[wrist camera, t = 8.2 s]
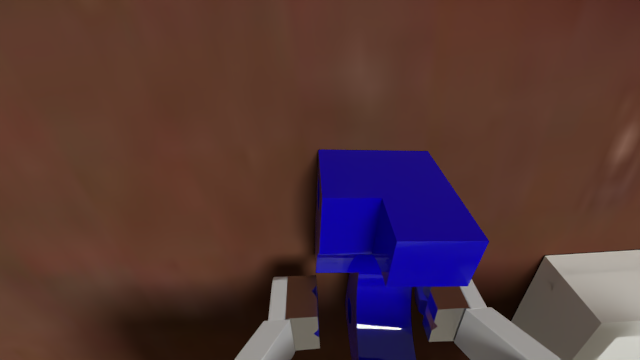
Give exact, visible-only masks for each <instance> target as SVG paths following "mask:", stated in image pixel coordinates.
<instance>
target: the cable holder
mask: <svg viewBox="0 0 640 360" xmlns="http://www.w3.org/2000/svg"><path fill="white" fill-rule="evenodd" d="M488 243H489V240H488V239H487V238H486V236H485V235H484V233H483V232H482V230H481V229H480V227H479V226H478V224H477V223H476V221H475V220H474V218H473V217H472V215H471V214H470V213H469V211H468V210H467V208H466V207H465V205H464V204H463V202H462V201H461V199H460V198H459V196H458V195H457V193H456V192H455V190H454V189H453V188H452V186H451V185H450V183H449V182H448V180H447V179H446V177H445V176H444V174H443V173H442V171H441V170H440V168H439V167H438V166H437V164H436V163H435V161H434V160H433V158H432V157H431V155H430V154H429V152H428V151H378V150H319V151H318V175H317V200H316V224H315V260H316V273H349V278H348V285H347V292H346V300H345V309H346V318H347V326H348V334H349V342H350V351H351V359H352V360H416V356H415V350H414V343H413V335H412V324H411V294H412V287H446V286H468V285H469V283H470V281H471V279H472V276H473V274H474V272H475V270H476V268H477V266H478V264H479V262H480V260H481V257H482V255H483V253H484V251H485V249H486V247H487V245H488Z"/></svg>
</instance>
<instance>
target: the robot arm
mask: <svg viewBox="0 0 640 360" xmlns="http://www.w3.org/2000/svg"><path fill="white" fill-rule="evenodd" d="M414 292H415V301H416V305H417V308H418V311H419V312H420V313H421V314H422V315H423V316H424V318H423V322H422V324H423V326H424V329H425V332H426V335H427V338H428V341H429V342H437V341H454V343H455V344H456V345H457V346H458V347H459V348H460V349H461V350H462V351H463V352H464V354H465V355H466V356H467V357H468V358H469V359H470V360H562V359H560V358H559V357H558V356H556V355H555V354H554V353H552V352H551V351H550V350H548V349H547V348H546V347H544V346H543V345H542V344H540V343H539V342H538V341H536V340H535V339H534V338H532V337H531V336H529V335H528V334H527V333H525V332H524V331H523V330H521V329H520V328H519V327H517V326H516V325H515V324H513V323H512V322H511V321H509V320H508V319H507V318H505V317H504V316H503V315H501V314H500V313H499V312H497V311H496V310H494V309H493V308H492V307H487V306H486V304H485V303H484V301H483V299H482V297H481V295H480V294H479V292H478V290H477V288H476V286H475V284H474V283H473V281H472V279H471V281H470V283H469V285H468V286H446V287H415V290H414ZM318 317H319V309H318V290H317V278H316V275H311V276H283V277H274V278H273V281H272V288H271V297H270V306H269V316H268V321H263V322H262V324H261V325H260V326H259V328H258V329H257V330H256V332H255V333H254V334H253V335H252V337H251V338H250V339H249V341H248V342H247V343H246V345H245V346H244V347H243V349H242V350H241V351H240V352H239V354H238V355H237V356H236V358H235V359H234V360H291V359H292V357H293V355H294V354H295V351H296V350H307V349H318V348H320V335H319V318H318Z"/></svg>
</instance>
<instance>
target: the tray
mask: <svg viewBox="0 0 640 360" xmlns="http://www.w3.org/2000/svg"><path fill="white" fill-rule="evenodd" d="M511 322H512V323H513V324H515V325H516V326H517V327H519V328H520V329H521V330H523V331H524V332H525V333H527V334H528V335H529V336H531V337H532V338H534V339H535V340H536V341H538V342H539V343H540V344H542V345H543V346H544V347H546V348H547V349H548V350H550V351H551V352H552V353H554V354H555V355H556V356H558V357H559V358H560V359H562V360H640V250H628V251H613V252H597V253H581V254H565V255H550V256H545V257H544V259H543V261H542V262H541V264H540V266H539V268H538V270H537V272H536V274H535V276H534V278H533V280H532V282H531V284H530V286H529V288H528V289H527V291H526V293H525V295H524V297H523V299H522V301H521V303H520V305H519V307H518V309H517V311H516V313H515V314H514V316H513V318H512V320H511Z"/></svg>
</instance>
